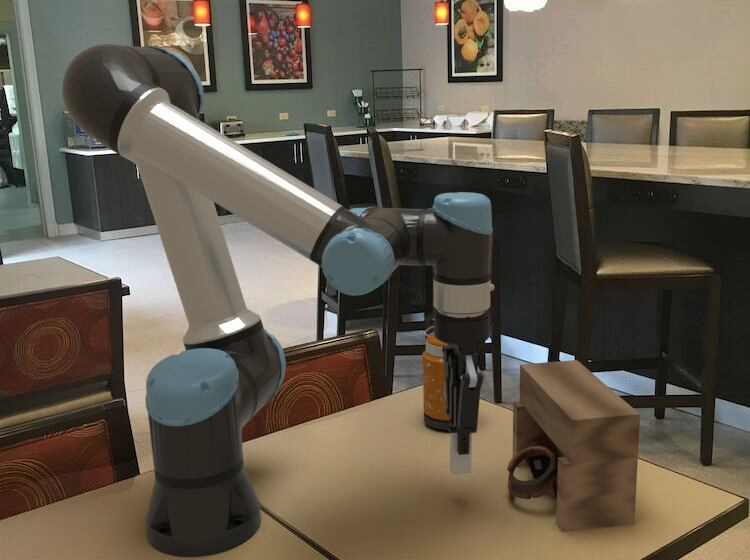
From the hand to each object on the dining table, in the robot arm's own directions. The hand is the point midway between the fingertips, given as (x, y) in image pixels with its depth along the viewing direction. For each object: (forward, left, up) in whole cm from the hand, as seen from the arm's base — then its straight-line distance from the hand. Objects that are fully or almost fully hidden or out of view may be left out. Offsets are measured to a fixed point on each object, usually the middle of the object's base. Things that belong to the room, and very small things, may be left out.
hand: (460, 471), depth 111 cm
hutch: (+11, 0, -5) cm, 12 cm away
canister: (+4, +28, -5) cm, 29 cm away
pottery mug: (+13, +1, -6) cm, 15 cm away
